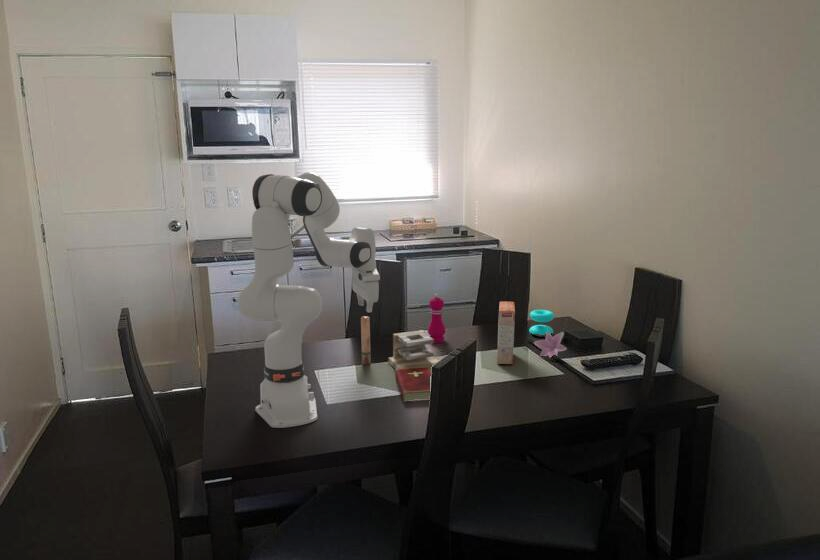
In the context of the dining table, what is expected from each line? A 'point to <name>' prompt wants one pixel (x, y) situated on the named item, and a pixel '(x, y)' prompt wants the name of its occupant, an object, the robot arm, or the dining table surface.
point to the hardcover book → (414, 382)
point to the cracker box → (506, 332)
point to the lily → (550, 344)
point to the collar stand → (412, 350)
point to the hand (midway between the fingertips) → (365, 308)
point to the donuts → (541, 317)
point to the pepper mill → (436, 320)
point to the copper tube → (365, 340)
